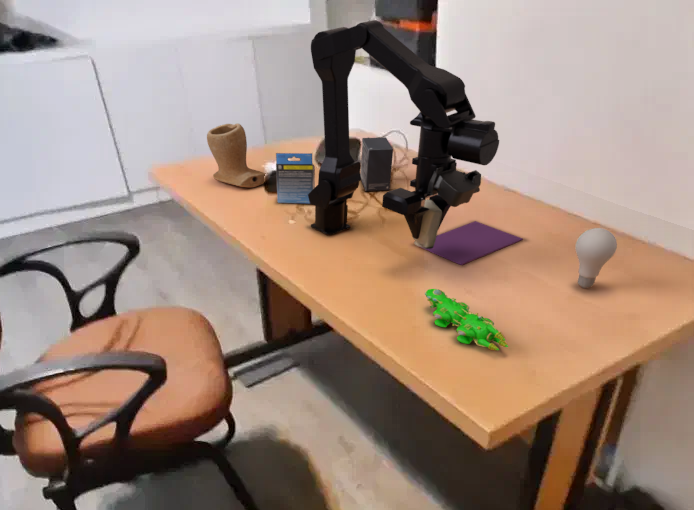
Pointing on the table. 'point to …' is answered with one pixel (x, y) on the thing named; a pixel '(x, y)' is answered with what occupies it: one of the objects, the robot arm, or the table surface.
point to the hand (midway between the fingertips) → (425, 234)
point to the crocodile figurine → (464, 321)
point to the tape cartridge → (294, 177)
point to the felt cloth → (471, 242)
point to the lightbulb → (593, 254)
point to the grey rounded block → (429, 226)
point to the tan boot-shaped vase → (232, 156)
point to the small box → (376, 164)
